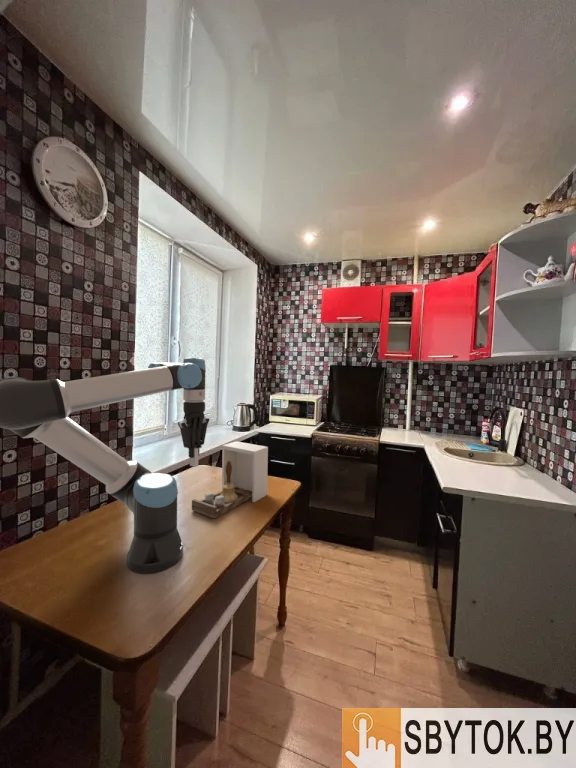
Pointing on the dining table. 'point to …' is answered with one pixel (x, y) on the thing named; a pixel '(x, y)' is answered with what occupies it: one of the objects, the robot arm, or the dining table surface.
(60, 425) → the robot arm
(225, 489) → the hand bell
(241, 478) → the white upright box
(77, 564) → the dining table surface
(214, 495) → the tray
